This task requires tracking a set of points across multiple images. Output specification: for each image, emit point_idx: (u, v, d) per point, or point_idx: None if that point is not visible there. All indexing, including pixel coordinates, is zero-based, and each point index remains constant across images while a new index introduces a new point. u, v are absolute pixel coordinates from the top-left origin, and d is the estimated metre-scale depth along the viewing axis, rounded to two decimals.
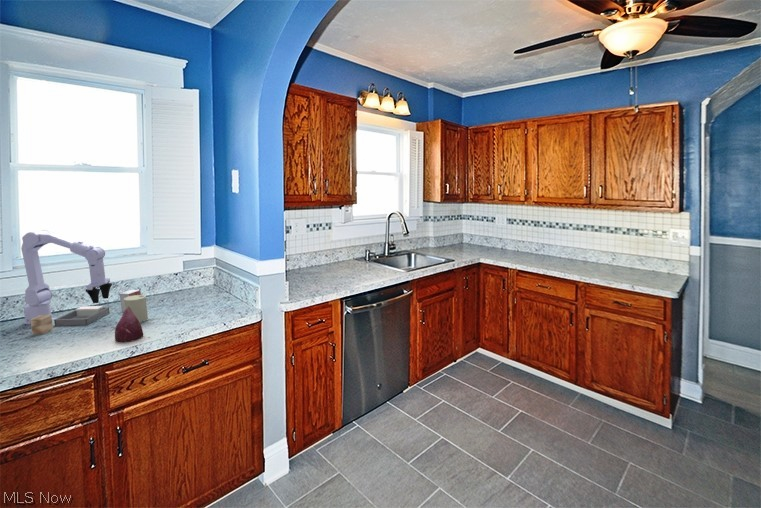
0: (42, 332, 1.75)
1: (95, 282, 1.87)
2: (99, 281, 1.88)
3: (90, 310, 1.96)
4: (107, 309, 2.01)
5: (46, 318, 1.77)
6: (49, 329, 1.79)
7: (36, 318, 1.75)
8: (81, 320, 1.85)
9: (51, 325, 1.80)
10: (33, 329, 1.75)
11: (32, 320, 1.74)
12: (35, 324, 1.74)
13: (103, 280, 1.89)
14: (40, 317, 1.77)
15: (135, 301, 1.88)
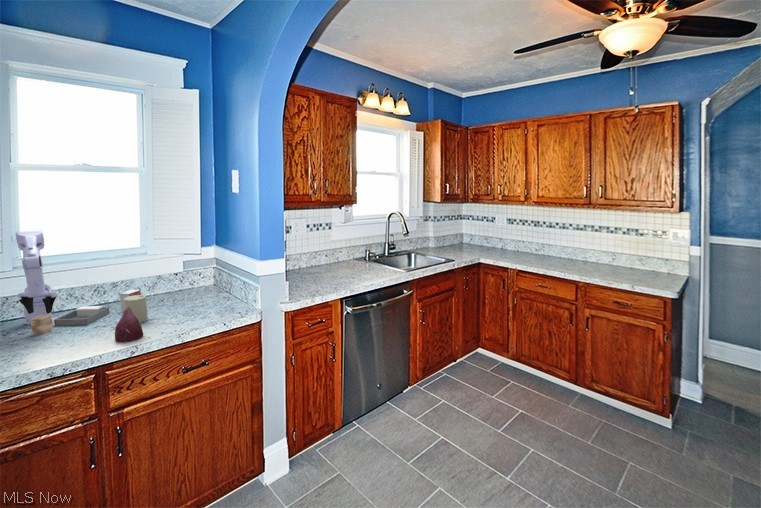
0: (42, 332, 1.75)
1: None
2: (28, 292, 1.73)
3: (90, 310, 1.96)
4: (107, 309, 2.01)
5: (46, 318, 1.77)
6: (49, 329, 1.79)
7: (36, 318, 1.75)
8: (81, 320, 1.85)
9: (51, 325, 1.80)
10: (33, 329, 1.75)
11: (32, 320, 1.74)
12: (35, 324, 1.74)
13: (30, 292, 1.72)
14: (40, 317, 1.77)
15: (135, 301, 1.88)
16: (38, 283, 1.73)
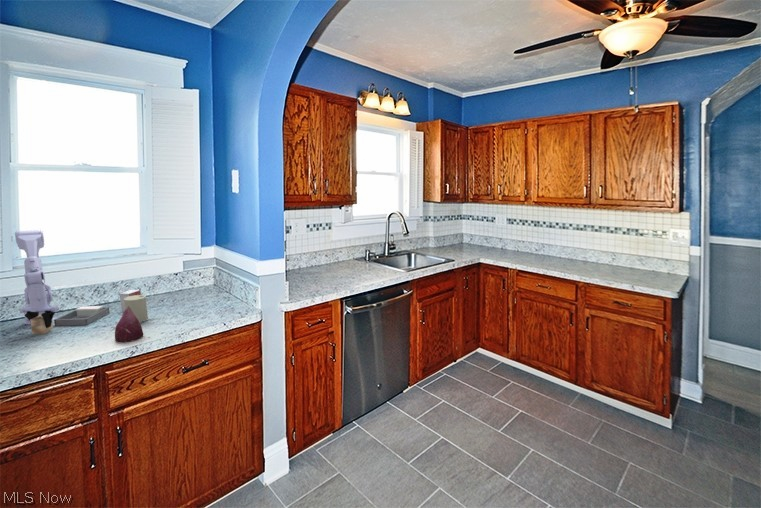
0: (42, 332, 1.75)
1: None
2: (30, 307, 1.74)
3: (90, 310, 1.96)
4: (107, 309, 2.01)
5: None
6: (49, 329, 1.79)
7: (36, 318, 1.75)
8: (81, 320, 1.85)
9: (51, 325, 1.80)
10: (33, 329, 1.75)
11: (32, 320, 1.74)
12: (35, 324, 1.74)
13: (32, 307, 1.73)
14: (40, 317, 1.77)
15: (135, 301, 1.88)
16: (40, 298, 1.74)
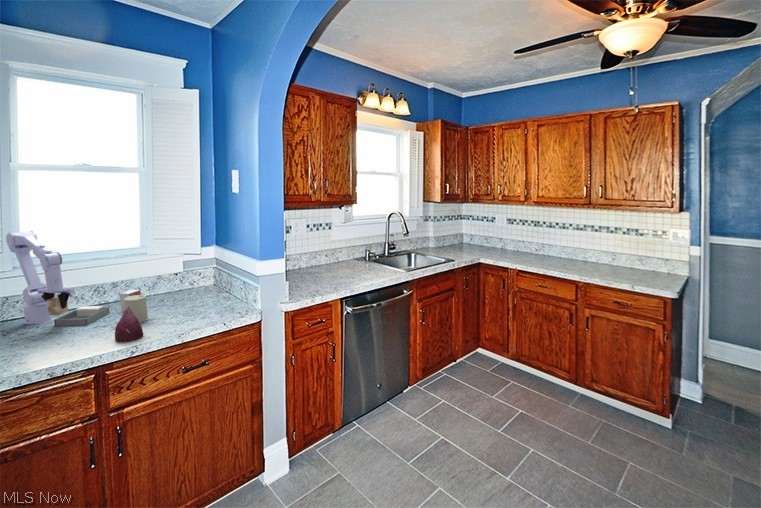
0: (58, 313, 1.80)
1: None
2: (47, 288, 1.79)
3: (90, 310, 1.96)
4: (107, 309, 2.01)
5: None
6: (64, 310, 1.83)
7: (52, 299, 1.80)
8: (81, 320, 1.85)
9: (66, 306, 1.85)
10: (49, 310, 1.79)
11: (48, 301, 1.78)
12: (51, 305, 1.79)
13: (49, 288, 1.78)
14: (56, 298, 1.81)
15: (135, 301, 1.88)
16: (59, 279, 1.80)
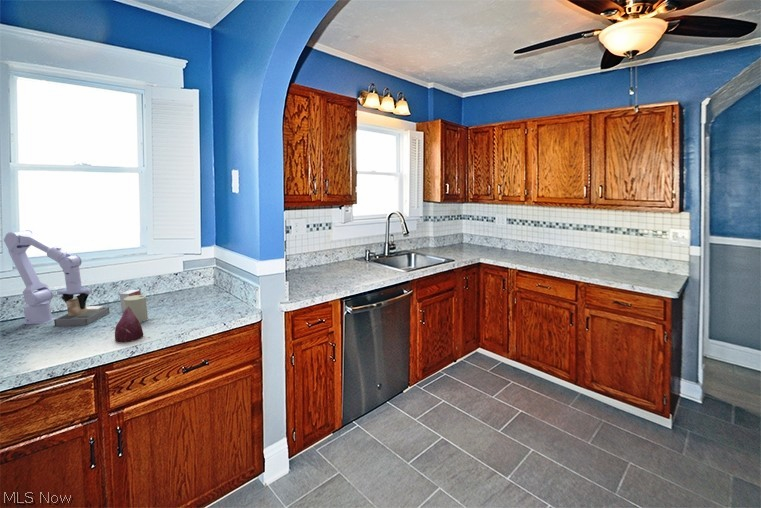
0: (77, 313, 1.86)
1: None
2: None
3: (90, 310, 1.96)
4: (107, 309, 2.01)
5: None
6: (83, 311, 1.90)
7: (71, 300, 1.86)
8: (81, 320, 1.85)
9: (85, 307, 1.91)
10: (69, 310, 1.86)
11: (68, 302, 1.85)
12: (71, 305, 1.85)
13: (68, 289, 1.84)
14: (75, 299, 1.88)
15: (135, 301, 1.88)
16: (80, 280, 1.87)
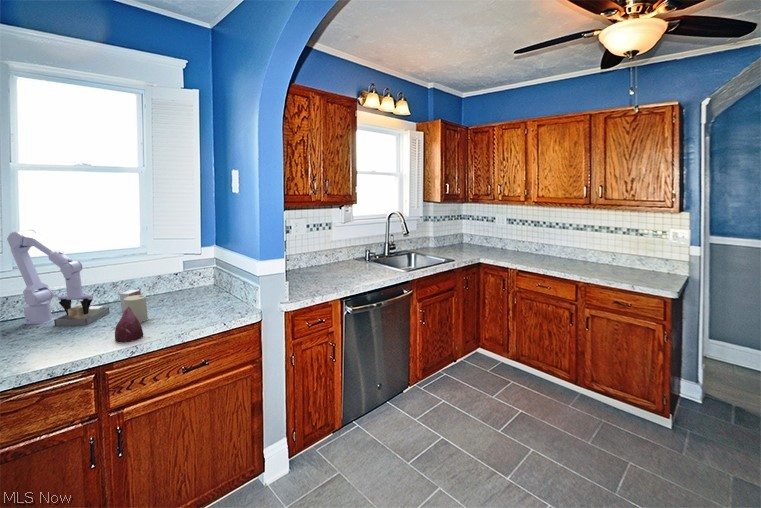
0: None
1: None
2: (67, 295, 1.86)
3: (90, 310, 1.96)
4: (107, 309, 2.01)
5: (82, 308, 1.89)
6: None
7: (73, 308, 1.87)
8: (81, 320, 1.85)
9: (86, 315, 1.92)
10: (70, 318, 1.86)
11: (69, 310, 1.86)
12: (72, 314, 1.86)
13: (69, 295, 1.85)
14: (76, 307, 1.88)
15: (135, 301, 1.88)
16: (80, 285, 1.88)
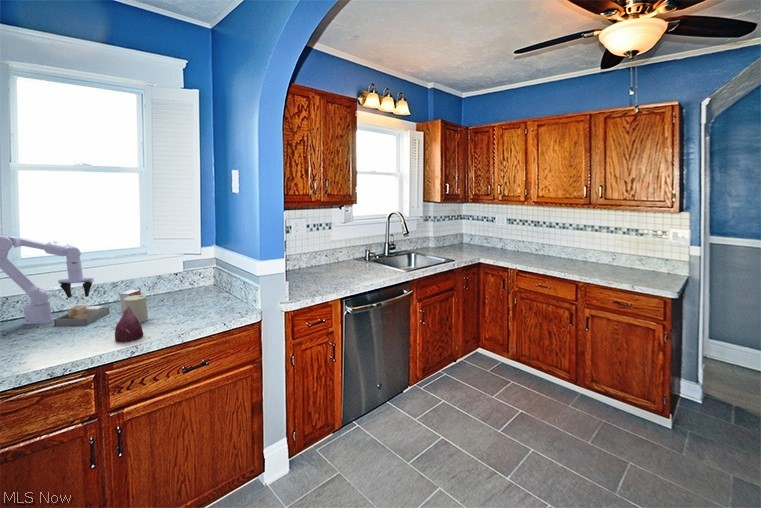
0: None
1: None
2: None
3: (90, 310, 1.96)
4: (107, 309, 2.01)
5: (82, 308, 1.89)
6: None
7: (73, 308, 1.87)
8: (81, 320, 1.85)
9: (86, 315, 1.92)
10: (70, 318, 1.86)
11: (69, 310, 1.86)
12: (72, 314, 1.86)
13: (71, 278, 1.95)
14: (76, 307, 1.88)
15: (135, 301, 1.88)
16: None
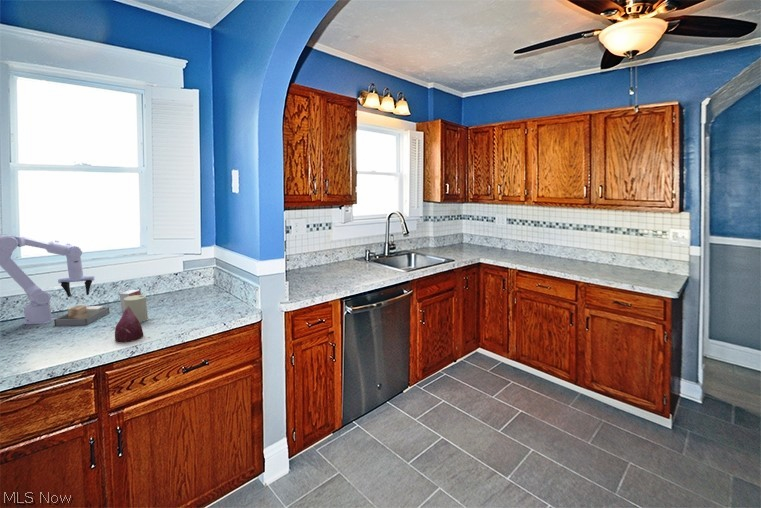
0: None
1: (69, 277, 1.99)
2: (69, 277, 1.98)
3: (90, 310, 1.96)
4: (107, 309, 2.01)
5: (82, 308, 1.89)
6: None
7: (73, 308, 1.87)
8: (81, 320, 1.85)
9: (86, 315, 1.92)
10: (70, 318, 1.86)
11: (69, 310, 1.86)
12: (72, 314, 1.86)
13: (73, 277, 1.98)
14: (76, 307, 1.88)
15: (135, 301, 1.88)
16: None
